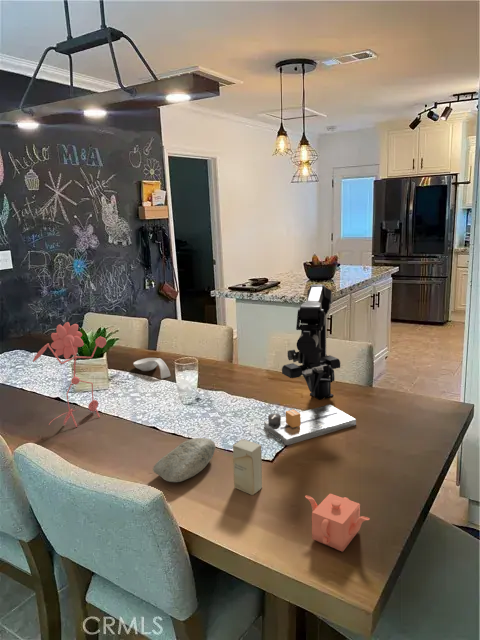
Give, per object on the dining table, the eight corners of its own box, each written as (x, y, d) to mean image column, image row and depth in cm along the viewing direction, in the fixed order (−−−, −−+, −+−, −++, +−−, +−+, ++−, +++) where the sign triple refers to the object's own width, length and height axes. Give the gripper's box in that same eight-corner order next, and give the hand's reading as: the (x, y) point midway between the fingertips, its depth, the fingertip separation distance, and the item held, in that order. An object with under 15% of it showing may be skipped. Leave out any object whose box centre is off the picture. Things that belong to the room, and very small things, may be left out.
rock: (228, 459, 136) (176, 496, 122) (201, 450, 144) (148, 483, 130) (225, 435, 135) (170, 469, 120) (197, 427, 142) (143, 458, 128)
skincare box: (233, 488, 123) (231, 445, 121) (244, 480, 127) (241, 438, 124) (253, 496, 120) (251, 451, 117) (263, 487, 123) (261, 444, 120)
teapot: (318, 510, 113) (318, 479, 111) (380, 534, 104) (380, 500, 102) (292, 539, 104) (291, 505, 102) (357, 567, 95) (357, 531, 93)
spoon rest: (129, 369, 222) (128, 354, 220) (152, 363, 229) (150, 348, 227) (154, 381, 204) (153, 365, 202) (178, 374, 211) (177, 359, 209)
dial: (271, 418, 157) (270, 412, 157) (282, 420, 155) (282, 414, 155) (266, 424, 153) (266, 417, 153) (278, 425, 152) (278, 419, 151)
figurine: (120, 409, 176) (108, 316, 168) (56, 437, 157) (38, 333, 149) (95, 401, 186) (83, 313, 178) (32, 426, 166) (15, 329, 159)
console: (329, 409, 167) (329, 404, 167) (355, 424, 155) (355, 419, 154) (264, 427, 156) (264, 421, 156) (286, 445, 144) (286, 439, 143)
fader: (293, 420, 155) (293, 408, 154) (300, 425, 151) (300, 413, 150) (285, 422, 153) (285, 411, 152) (292, 427, 150) (292, 415, 149)
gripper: (320, 334, 160) (321, 378, 164) (272, 344, 153) (273, 390, 156) (341, 342, 151) (341, 389, 154) (290, 352, 143) (292, 401, 146)
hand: (311, 391), depth 153 cm, fingers closed
